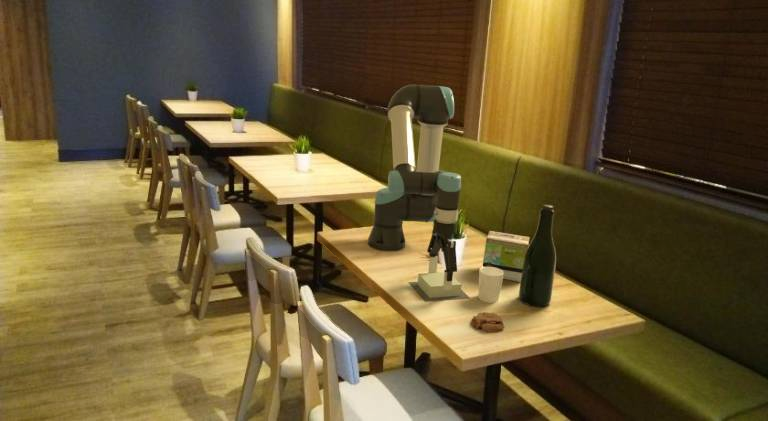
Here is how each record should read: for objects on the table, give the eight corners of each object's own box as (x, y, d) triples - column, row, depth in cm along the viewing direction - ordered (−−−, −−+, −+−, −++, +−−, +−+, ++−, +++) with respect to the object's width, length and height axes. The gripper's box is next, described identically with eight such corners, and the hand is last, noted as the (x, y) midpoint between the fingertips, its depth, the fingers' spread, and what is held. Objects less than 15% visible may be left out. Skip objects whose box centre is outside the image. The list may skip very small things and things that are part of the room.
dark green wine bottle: (557, 305, 201) (572, 208, 192) (531, 309, 196) (546, 211, 187) (536, 292, 210) (549, 200, 201) (511, 296, 205) (524, 202, 196)
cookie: (503, 320, 188) (504, 311, 187) (504, 335, 178) (505, 326, 177) (471, 315, 190) (472, 307, 189) (470, 331, 180) (471, 322, 179)
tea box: (481, 276, 222) (485, 237, 217) (484, 267, 231) (488, 229, 227) (523, 283, 218) (528, 243, 214) (524, 273, 227) (529, 235, 223)
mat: (408, 283, 211) (408, 282, 211) (450, 280, 216) (450, 279, 216) (425, 302, 196) (425, 301, 196) (470, 299, 201) (470, 298, 201)
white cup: (499, 305, 198) (503, 277, 195) (475, 302, 199) (478, 273, 196) (500, 296, 205) (504, 268, 202) (476, 292, 207) (480, 265, 204)
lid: (417, 284, 209) (418, 273, 208) (447, 282, 213) (448, 272, 211) (429, 297, 199) (430, 286, 198) (460, 295, 203) (461, 284, 201)
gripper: (421, 210, 209) (416, 269, 215) (450, 232, 187) (443, 297, 193) (441, 209, 211) (435, 268, 217) (472, 231, 189) (465, 295, 195)
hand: (439, 281), depth 205 cm, fingers open, 12 cm apart
